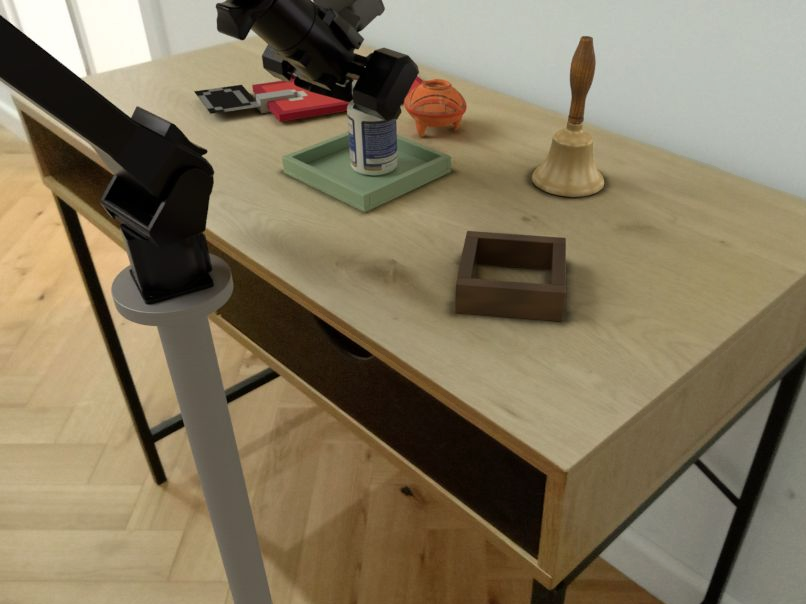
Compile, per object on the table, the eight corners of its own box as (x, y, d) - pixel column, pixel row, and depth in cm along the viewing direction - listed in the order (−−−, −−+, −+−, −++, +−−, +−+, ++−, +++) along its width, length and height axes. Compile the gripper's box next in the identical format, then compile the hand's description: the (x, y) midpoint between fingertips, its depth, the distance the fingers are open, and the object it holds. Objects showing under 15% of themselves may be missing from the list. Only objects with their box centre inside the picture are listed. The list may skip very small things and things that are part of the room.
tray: (364, 212, 82) (363, 195, 81) (283, 173, 89) (281, 156, 88) (451, 171, 91) (451, 155, 89) (370, 138, 97) (370, 123, 96)
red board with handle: (191, 93, 107) (222, 134, 97) (187, 72, 105) (218, 113, 95) (390, 65, 119) (435, 99, 109) (389, 46, 117) (435, 79, 108)
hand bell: (585, 161, 94) (603, 23, 84) (616, 192, 87) (639, 46, 77) (521, 169, 91) (531, 28, 82) (548, 201, 85) (562, 53, 75)
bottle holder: (454, 313, 69) (455, 284, 67) (466, 257, 76) (466, 230, 74) (562, 321, 68) (565, 293, 66) (562, 264, 75) (566, 237, 73)
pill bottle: (406, 163, 91) (404, 79, 85) (381, 181, 87) (378, 94, 81) (367, 153, 93) (363, 71, 87) (341, 170, 89) (335, 85, 83)
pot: (389, 122, 101) (398, 68, 97) (442, 126, 105) (453, 75, 101) (415, 143, 95) (426, 87, 92) (470, 147, 99) (482, 93, 96)
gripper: (402, -35, 68) (479, 64, 82) (270, -67, 78) (359, 27, 91) (341, 76, 69) (428, 157, 82) (216, 31, 78) (312, 110, 91)
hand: (380, 108), depth 87 cm, fingers closed on pill bottle, 5 cm apart
